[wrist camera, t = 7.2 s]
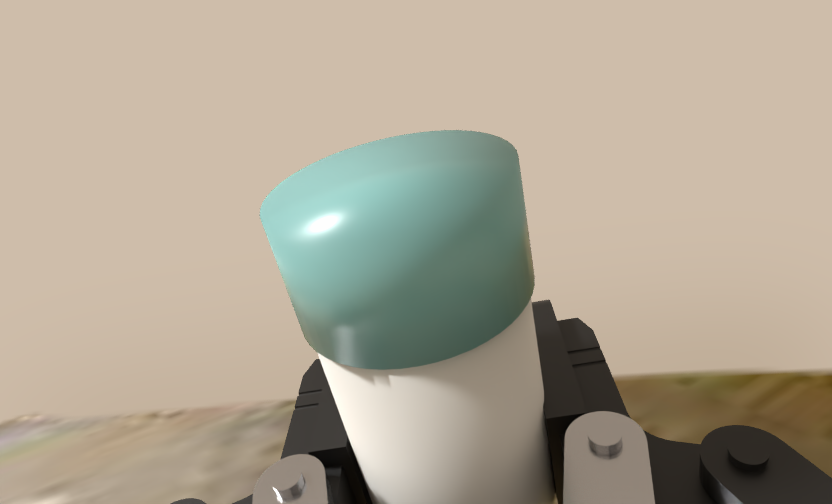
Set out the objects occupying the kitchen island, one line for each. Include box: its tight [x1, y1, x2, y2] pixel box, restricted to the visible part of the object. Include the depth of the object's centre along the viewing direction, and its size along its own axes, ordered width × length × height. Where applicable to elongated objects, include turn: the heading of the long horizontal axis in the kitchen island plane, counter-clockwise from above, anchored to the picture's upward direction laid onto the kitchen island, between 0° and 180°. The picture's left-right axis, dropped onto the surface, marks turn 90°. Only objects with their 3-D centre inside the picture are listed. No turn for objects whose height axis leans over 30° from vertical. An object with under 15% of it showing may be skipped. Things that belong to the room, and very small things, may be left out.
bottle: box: [260, 130, 558, 504], centre depth 11 cm, size 4×4×12 cm
